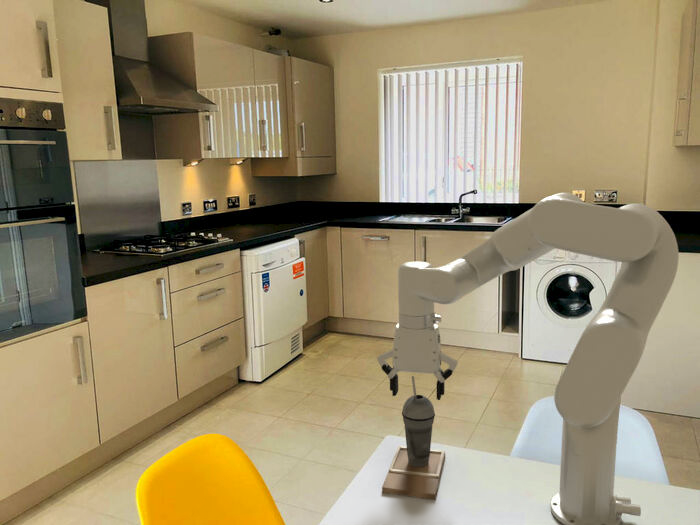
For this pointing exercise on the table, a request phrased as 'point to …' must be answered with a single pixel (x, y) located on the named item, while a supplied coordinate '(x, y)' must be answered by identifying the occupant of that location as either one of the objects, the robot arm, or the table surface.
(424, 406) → the beverage cup
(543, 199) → the robot arm
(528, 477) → the table surface
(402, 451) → the walnut board
